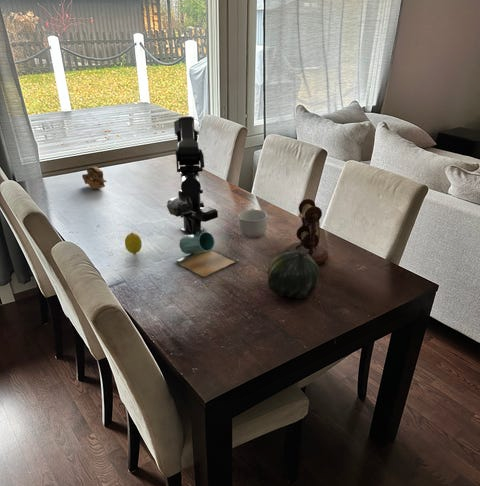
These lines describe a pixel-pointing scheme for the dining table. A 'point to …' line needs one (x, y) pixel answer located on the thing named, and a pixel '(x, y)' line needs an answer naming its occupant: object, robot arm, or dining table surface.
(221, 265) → the cork mat
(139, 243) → the lemon
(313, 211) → the brown spool stand
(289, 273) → the squash
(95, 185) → the wooden carving
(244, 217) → the teacup
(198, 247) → the cup
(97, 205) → the dining table surface
